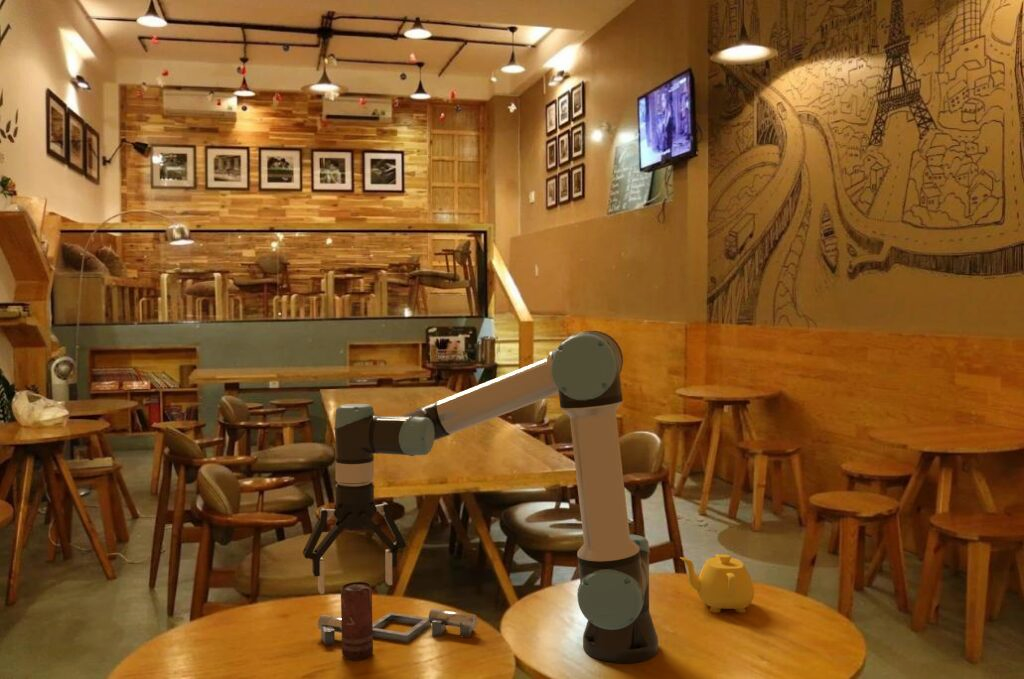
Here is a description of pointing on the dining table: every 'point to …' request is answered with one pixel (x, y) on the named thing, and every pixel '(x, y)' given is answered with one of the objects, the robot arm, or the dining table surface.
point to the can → (356, 621)
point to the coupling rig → (421, 623)
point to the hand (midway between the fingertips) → (355, 587)
